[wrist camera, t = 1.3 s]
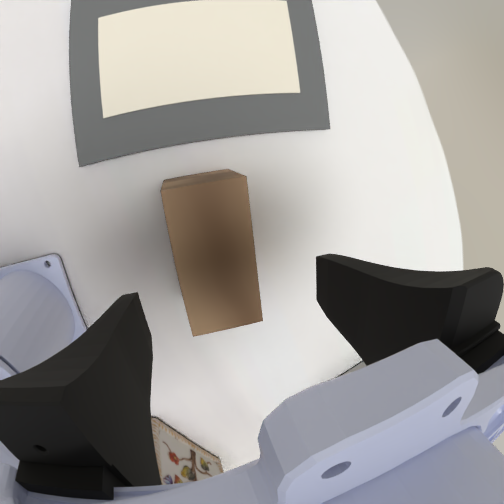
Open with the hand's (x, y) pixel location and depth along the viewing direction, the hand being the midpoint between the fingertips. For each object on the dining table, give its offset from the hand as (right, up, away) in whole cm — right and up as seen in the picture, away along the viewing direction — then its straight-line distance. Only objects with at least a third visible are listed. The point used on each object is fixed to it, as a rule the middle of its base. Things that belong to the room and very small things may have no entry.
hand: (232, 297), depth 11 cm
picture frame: (-3, +14, +3) cm, 15 cm away
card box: (-2, +3, +8) cm, 9 cm away
